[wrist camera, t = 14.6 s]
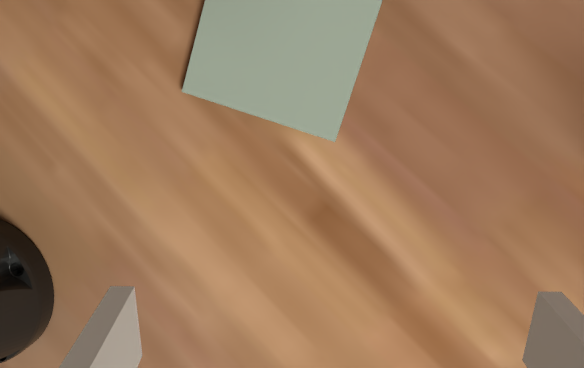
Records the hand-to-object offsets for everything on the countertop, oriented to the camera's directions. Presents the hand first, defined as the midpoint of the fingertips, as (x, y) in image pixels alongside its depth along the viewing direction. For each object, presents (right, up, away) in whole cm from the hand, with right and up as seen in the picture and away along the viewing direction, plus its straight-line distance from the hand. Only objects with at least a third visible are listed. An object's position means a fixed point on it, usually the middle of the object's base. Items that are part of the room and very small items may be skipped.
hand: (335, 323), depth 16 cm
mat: (-2, +17, +24) cm, 30 cm away
